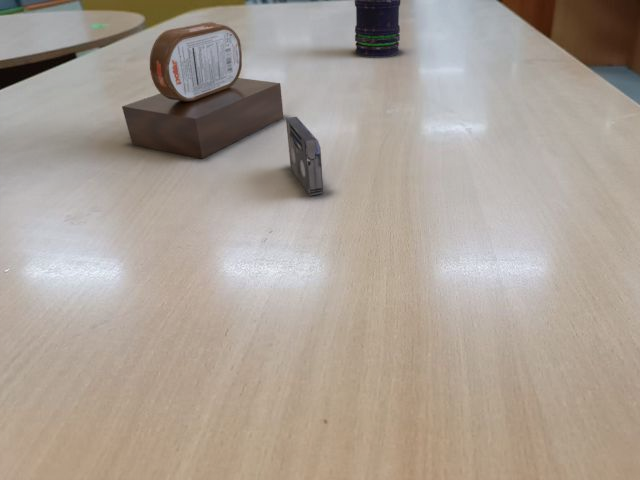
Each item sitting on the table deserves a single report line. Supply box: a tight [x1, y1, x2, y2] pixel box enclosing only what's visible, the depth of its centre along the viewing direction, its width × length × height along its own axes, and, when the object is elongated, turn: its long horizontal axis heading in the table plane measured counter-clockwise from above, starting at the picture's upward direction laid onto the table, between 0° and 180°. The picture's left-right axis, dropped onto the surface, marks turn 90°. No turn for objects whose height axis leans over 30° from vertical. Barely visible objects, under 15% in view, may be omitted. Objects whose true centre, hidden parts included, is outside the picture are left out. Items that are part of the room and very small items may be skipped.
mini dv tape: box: [285, 116, 324, 197], centre depth 56 cm, size 8×2×6 cm, turn 21°
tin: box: [149, 21, 243, 102], centre depth 66 cm, size 15×3×8 cm, turn 153°
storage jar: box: [354, 0, 402, 58], centre depth 110 cm, size 10×10×15 cm
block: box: [121, 77, 284, 160], centre depth 70 cm, size 12×18×5 cm, turn 153°
